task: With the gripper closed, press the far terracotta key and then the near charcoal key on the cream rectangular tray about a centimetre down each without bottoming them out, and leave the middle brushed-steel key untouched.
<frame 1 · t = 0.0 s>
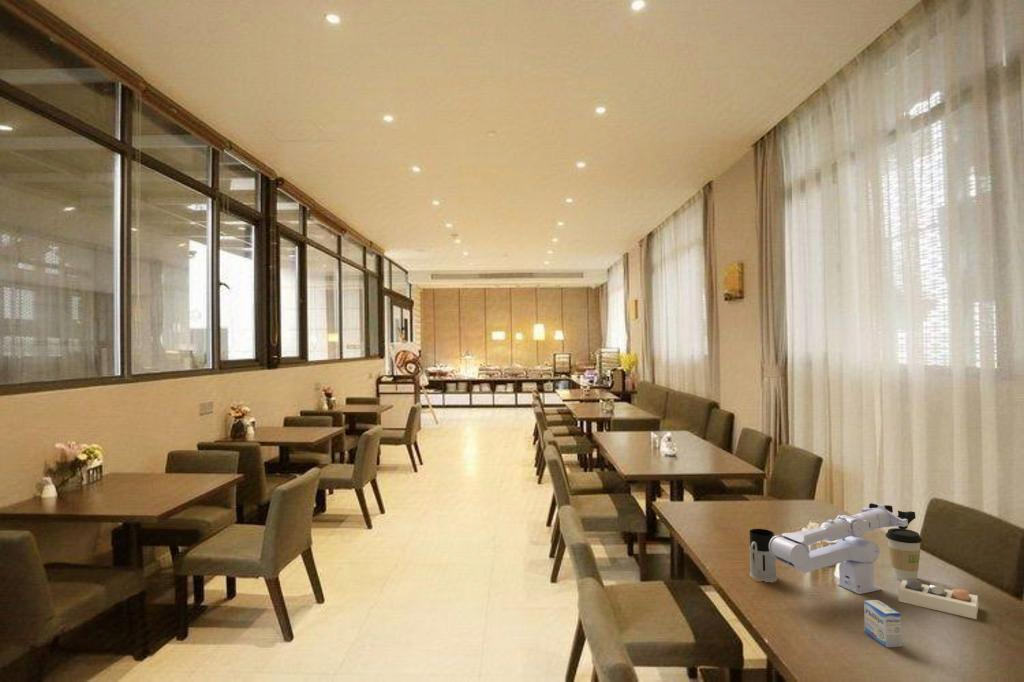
hand: (902, 511, 184), 22 cm above the table, tool horizontal, fingers open, 7 cm apart
medicine box: (883, 640, 146), on the table
coffee cup: (905, 578, 184), on the table
terracotta key: (961, 595, 161), point 4 cm above the table, slide at 0.0 cm
charcoal key: (914, 585, 169), point 4 cm above the table, slide at 0.0 cm
glass holder: (760, 580, 186), on the table
cream rectangular tray: (937, 604, 165), on the table
steel key: (937, 590, 165), point 4 cm above the table, slide at 0.0 cm
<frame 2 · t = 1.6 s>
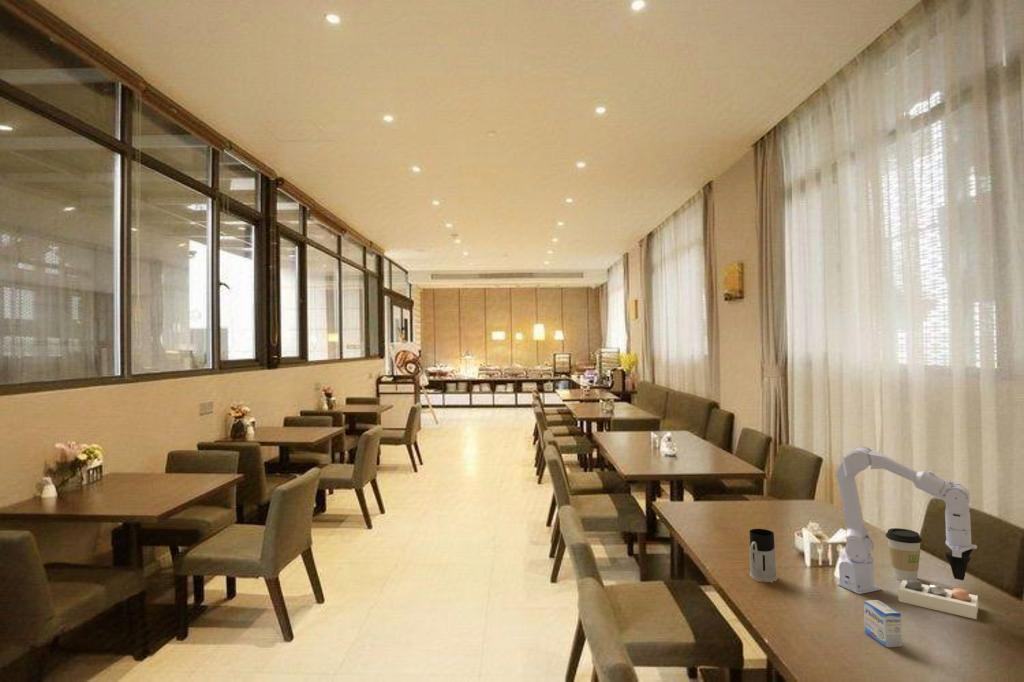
hand: (960, 575, 162), 10 cm above the table, tool pointing down, fingers open, 7 cm apart
nothing on the table moved.
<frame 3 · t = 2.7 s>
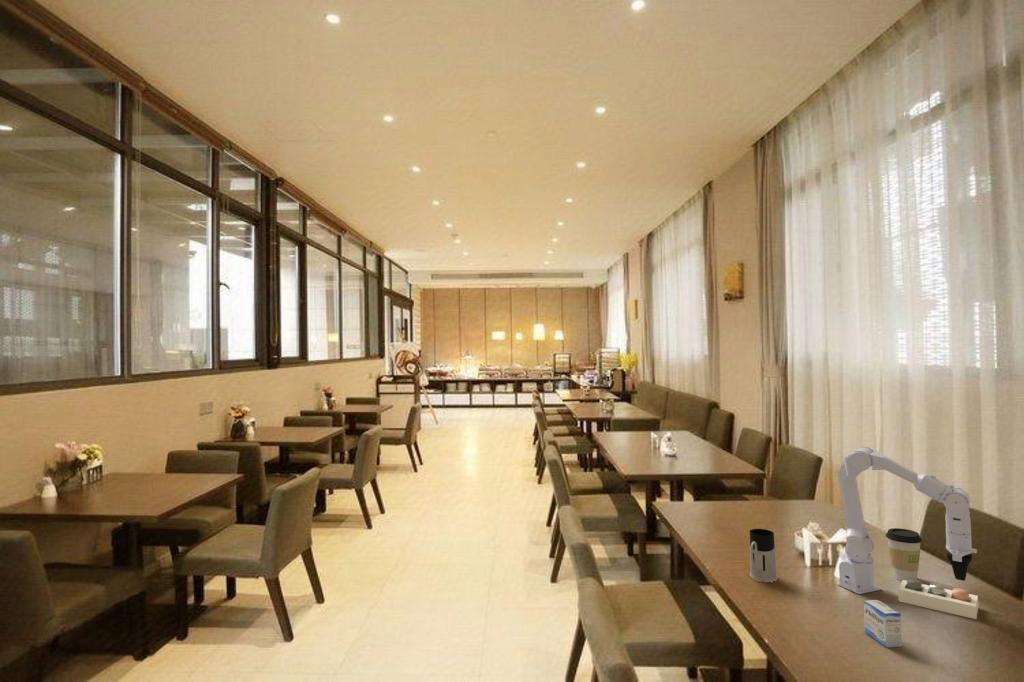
hand: (960, 579, 161), 9 cm above the table, tool pointing down, fingers closed
nothing on the table moved.
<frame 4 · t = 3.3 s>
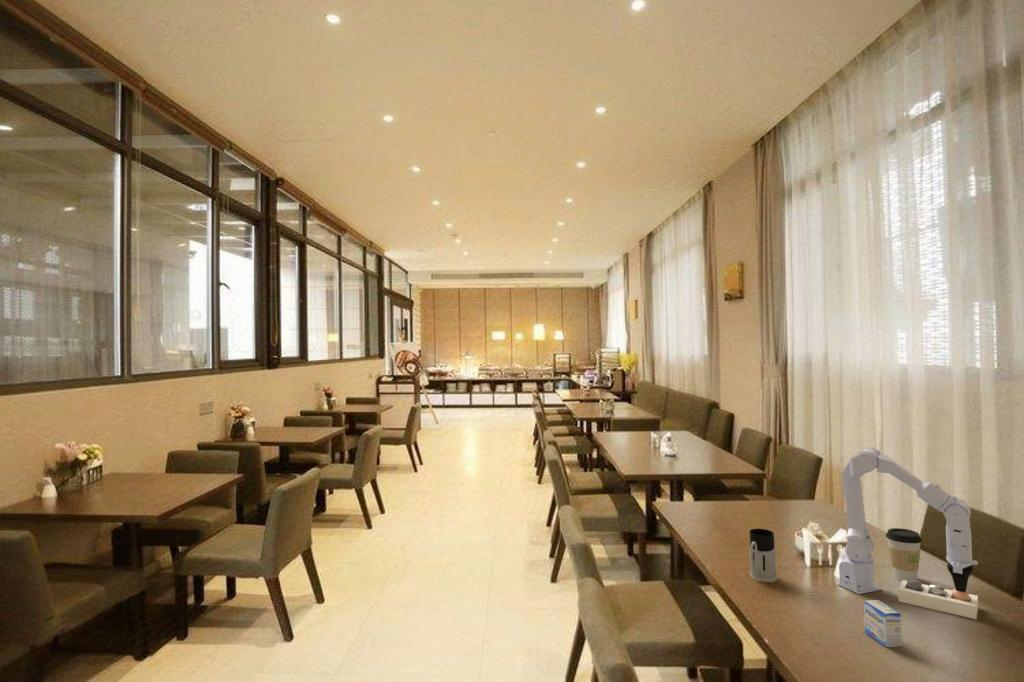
hand: (960, 590, 161), 5 cm above the table, tool pointing down, fingers closed, pressing on terracotta key
terracotta key: (961, 596, 161), point 4 cm above the table, slide at 0.0 cm, touching gripper
everything else where it was.
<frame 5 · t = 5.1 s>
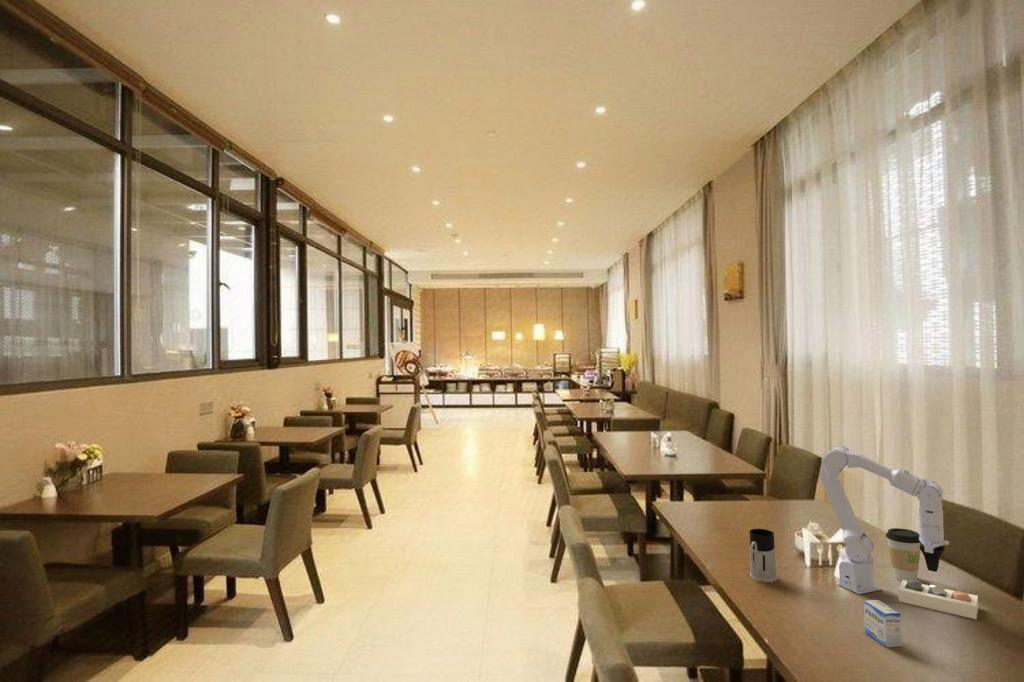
hand: (932, 570, 166), 10 cm above the table, tool pointing down, fingers closed
terracotta key: (961, 599, 161), point 3 cm above the table, slide at 0.9 cm
everything else where it was.
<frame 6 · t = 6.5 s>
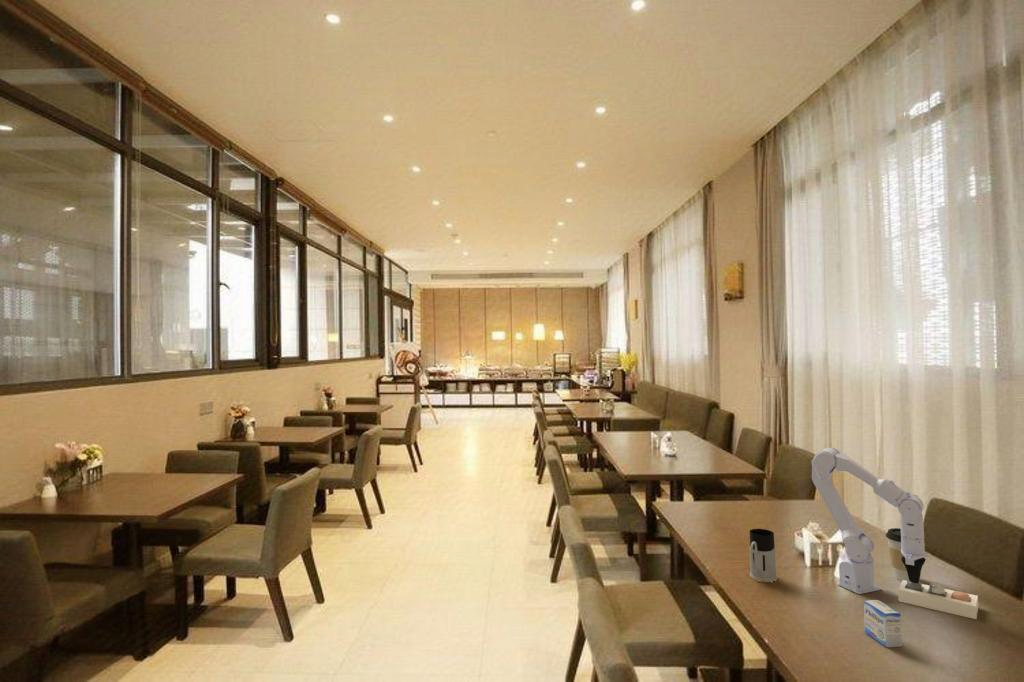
hand: (914, 582, 169), 5 cm above the table, tool pointing down, fingers closed, pressing on charcoal key
charcoal key: (914, 586, 169), point 4 cm above the table, slide at 0.3 cm, touching gripper
everything else where it was.
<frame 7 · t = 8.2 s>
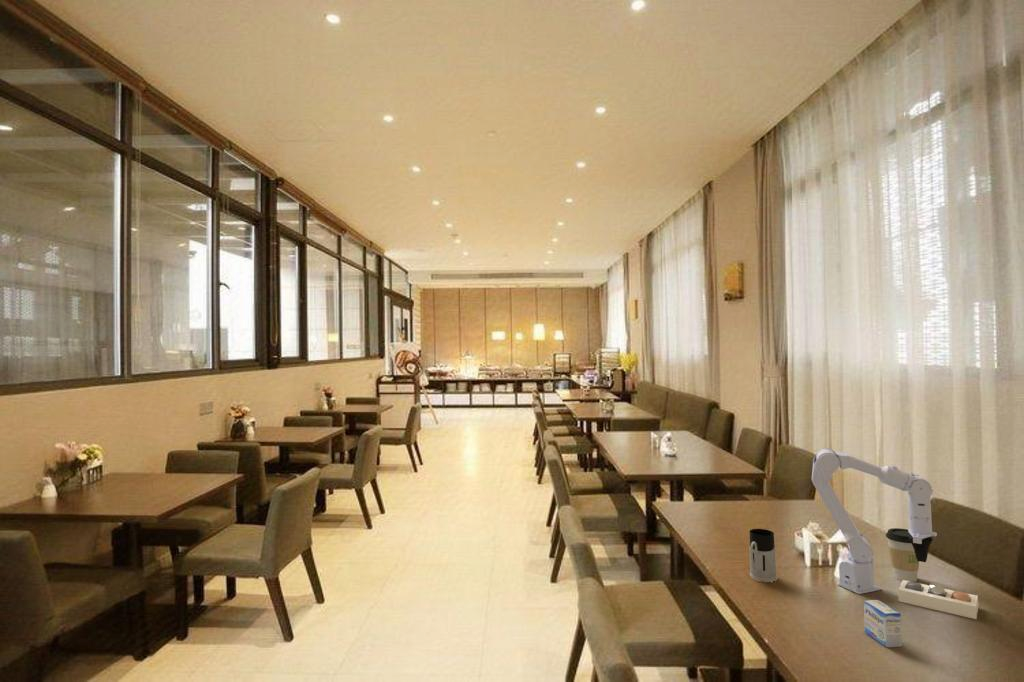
hand: (921, 561, 171), 10 cm above the table, tool pointing down, fingers closed
charcoal key: (914, 589, 169), point 3 cm above the table, slide at 0.9 cm
everything else where it was.
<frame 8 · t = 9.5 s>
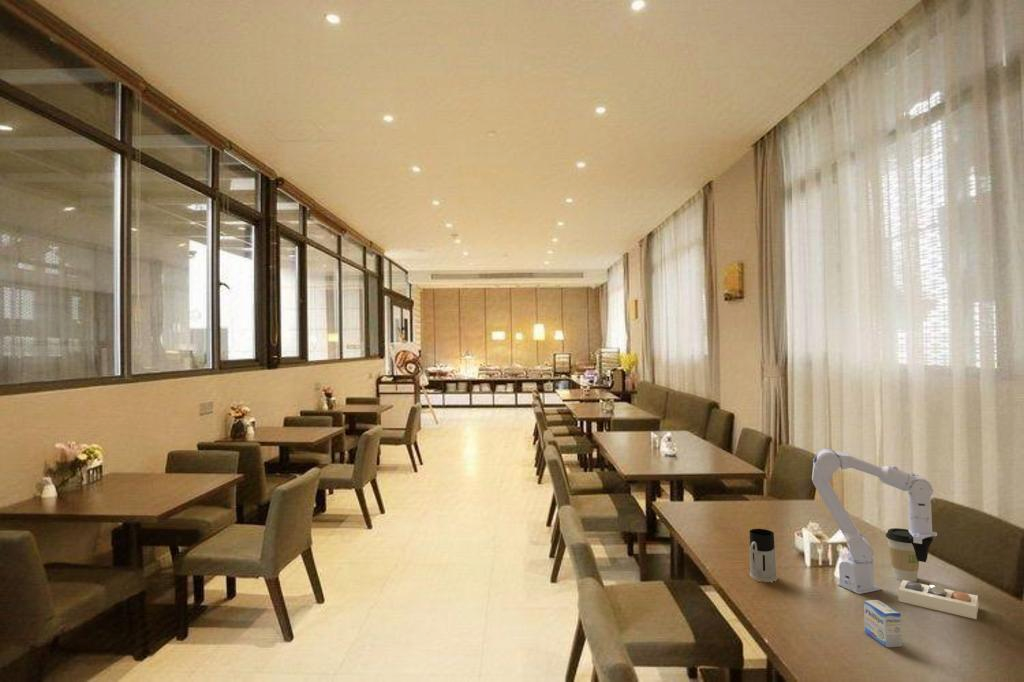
hand: (921, 560, 172), 10 cm above the table, tool pointing down, fingers closed
nothing on the table moved.
at the end: terracotta key slide at 0.9 cm; charcoal key slide at 0.9 cm; steel key slide at 0.0 cm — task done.
